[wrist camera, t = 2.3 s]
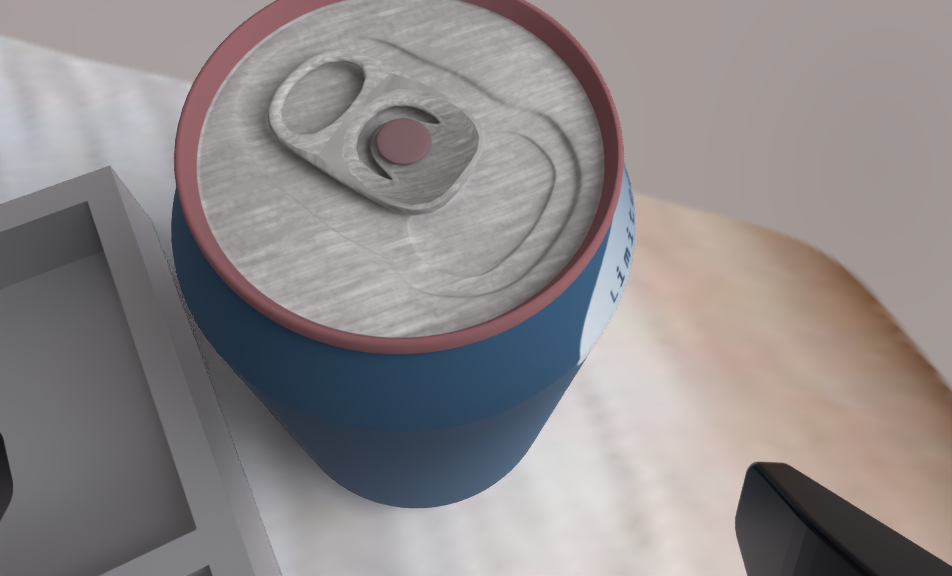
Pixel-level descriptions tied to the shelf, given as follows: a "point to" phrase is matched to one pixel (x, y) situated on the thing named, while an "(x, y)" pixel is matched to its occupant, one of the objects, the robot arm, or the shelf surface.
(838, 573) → the robot arm
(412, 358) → the soda can
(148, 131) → the shelf surface
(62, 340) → the can carrier
